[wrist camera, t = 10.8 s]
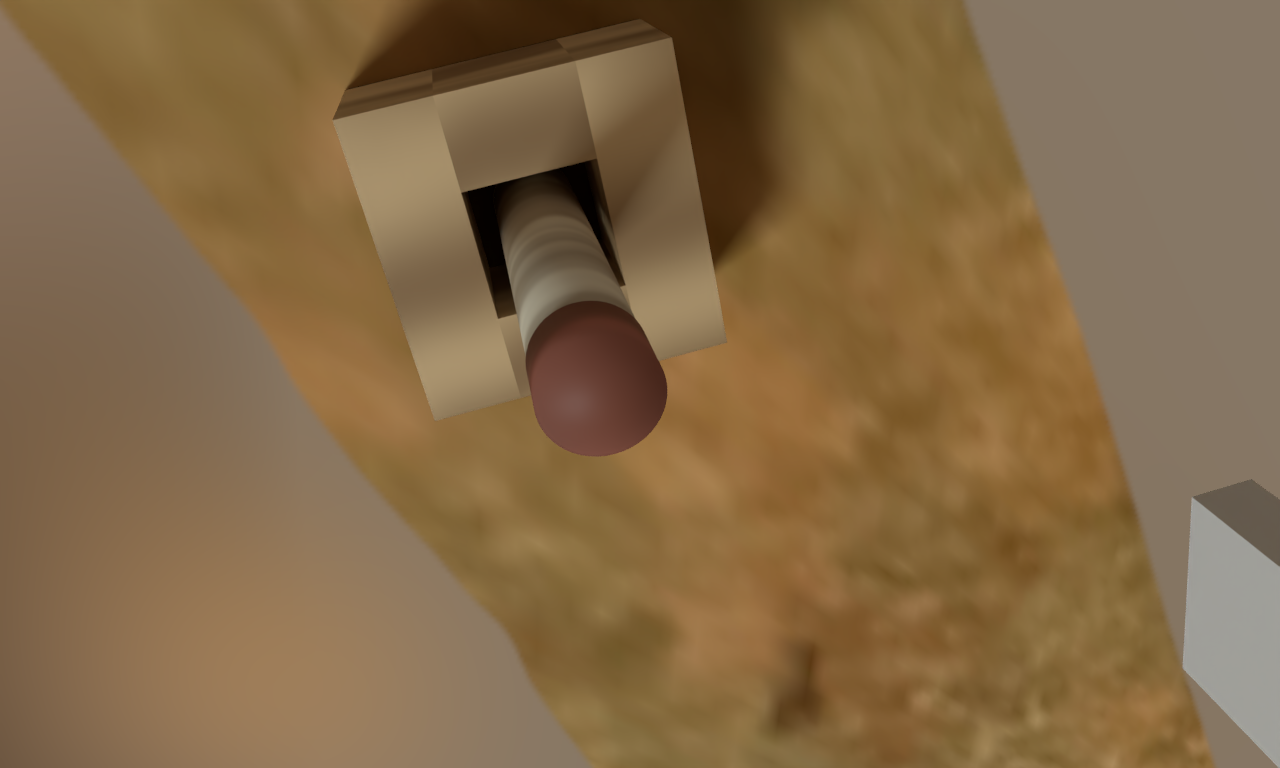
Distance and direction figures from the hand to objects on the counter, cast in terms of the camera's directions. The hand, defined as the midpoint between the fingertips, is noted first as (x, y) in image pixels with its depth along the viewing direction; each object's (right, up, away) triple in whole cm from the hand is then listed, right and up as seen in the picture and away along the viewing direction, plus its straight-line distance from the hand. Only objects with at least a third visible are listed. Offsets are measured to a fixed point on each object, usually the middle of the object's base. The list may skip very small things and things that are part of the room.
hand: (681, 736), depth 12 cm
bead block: (-4, +11, +24) cm, 27 cm away
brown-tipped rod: (-4, +11, +24) cm, 27 cm away
